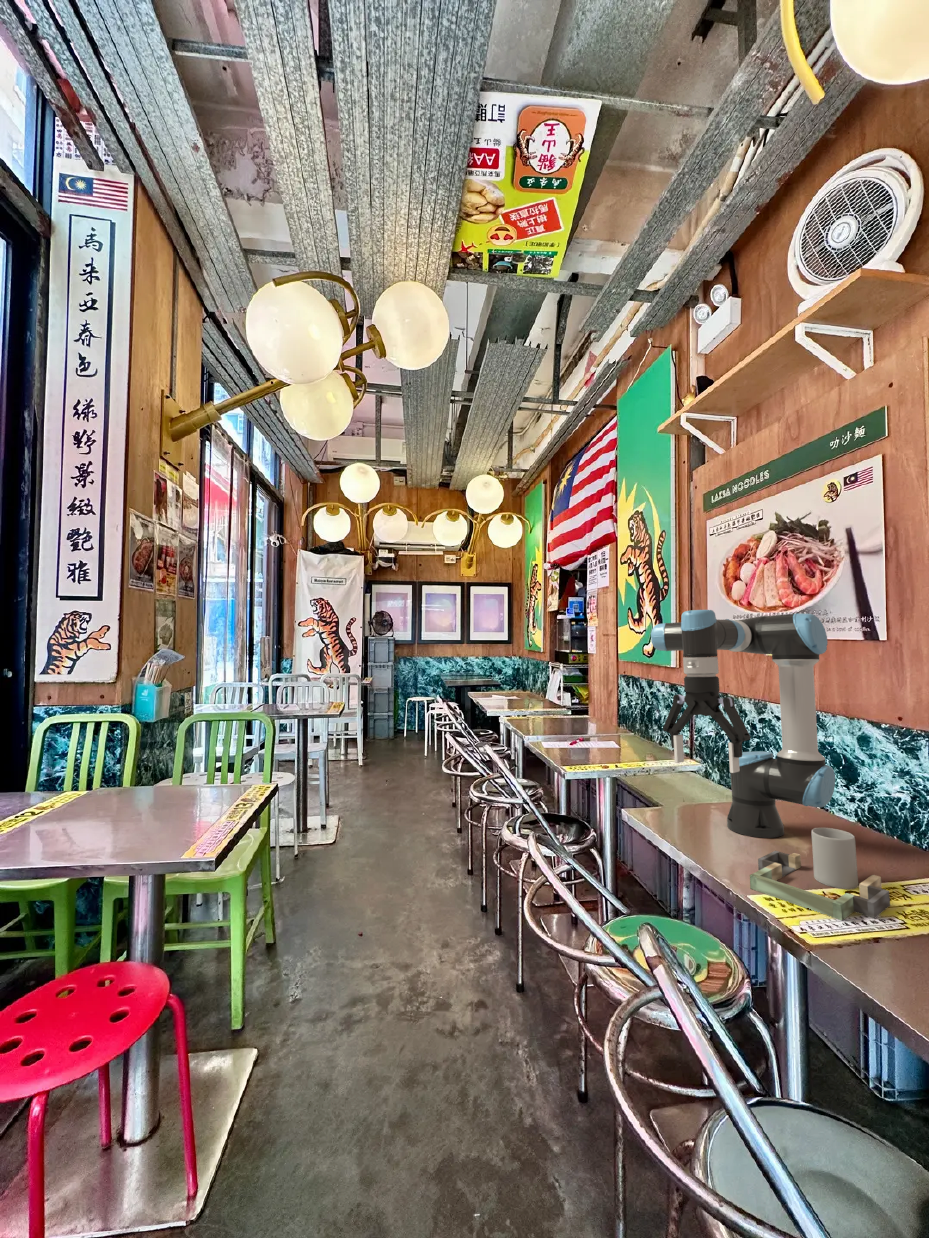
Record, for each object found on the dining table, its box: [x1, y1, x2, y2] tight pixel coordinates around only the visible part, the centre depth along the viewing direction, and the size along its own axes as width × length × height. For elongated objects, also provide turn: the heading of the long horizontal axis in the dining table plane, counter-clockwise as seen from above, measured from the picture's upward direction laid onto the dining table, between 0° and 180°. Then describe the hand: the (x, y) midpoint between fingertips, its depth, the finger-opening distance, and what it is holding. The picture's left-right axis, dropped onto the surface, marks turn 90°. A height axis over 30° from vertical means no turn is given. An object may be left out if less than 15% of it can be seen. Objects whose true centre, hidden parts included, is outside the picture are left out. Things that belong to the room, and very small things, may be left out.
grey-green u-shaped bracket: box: [749, 850, 891, 921], centre depth 118 cm, size 22×25×3 cm
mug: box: [811, 827, 859, 890], centre depth 124 cm, size 12×8×11 cm
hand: (705, 766), depth 121 cm, fingers open, 13 cm apart
